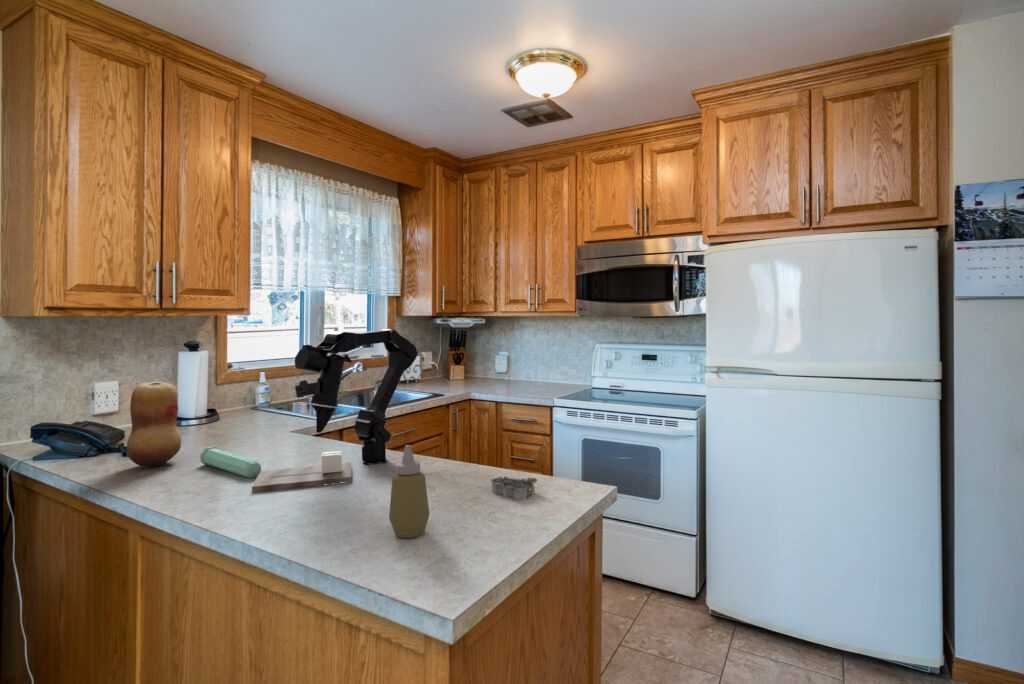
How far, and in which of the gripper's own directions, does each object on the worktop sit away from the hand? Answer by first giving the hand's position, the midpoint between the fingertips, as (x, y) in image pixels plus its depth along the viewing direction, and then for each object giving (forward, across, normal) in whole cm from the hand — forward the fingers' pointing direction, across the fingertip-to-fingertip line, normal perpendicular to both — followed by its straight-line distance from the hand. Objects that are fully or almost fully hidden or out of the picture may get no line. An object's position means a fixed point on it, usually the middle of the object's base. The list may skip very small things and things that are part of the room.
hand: (319, 431), depth 144 cm
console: (+13, -1, -1) cm, 13 cm away
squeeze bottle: (+16, +43, +23) cm, 51 cm away
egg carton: (+8, +27, +49) cm, 56 cm away
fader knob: (+10, -1, +5) cm, 11 cm away
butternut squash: (+18, -31, -45) cm, 58 cm away
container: (+16, -17, -22) cm, 32 cm away
